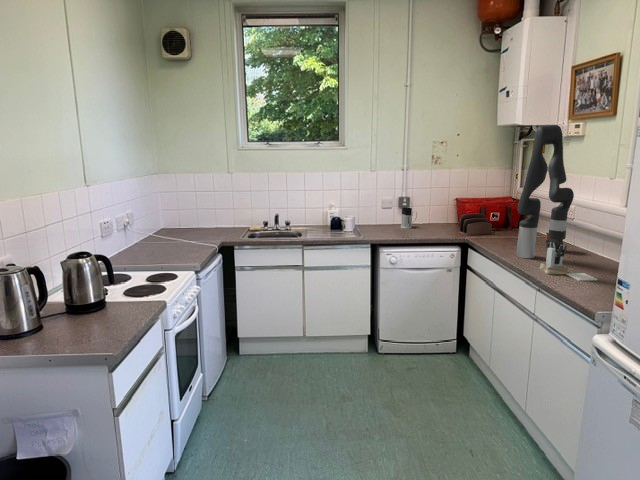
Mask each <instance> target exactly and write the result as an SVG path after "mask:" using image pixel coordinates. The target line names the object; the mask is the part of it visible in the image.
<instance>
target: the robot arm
mask: <svg viewBox="0 0 640 480" xmlns="http://www.w3.org/2000/svg"><path fill="white" fill-rule="evenodd" d="M563 144H564V138H563V131H562V127H561V126H560V125H557V124H554V125H553V124H552V125H550V124H549V125H541V126H538V128H537V129H536V130H535V134H534V141H533V147H532V153H531V157H530V161H529V164H528V168H527V172H526V177H525V180H524V185H523V189H522V192H521V195H520V197H519V200H518V204H517V212H518V214H519V215H523V216H524V215H525V216H527V215H530V216H529V217H527V218H526V219H522V220H520V221H519V227H518V238H517V244H516V254H515V255H516V257H517V258H521V259H534V258H535V256H536V246H537V237H538V234H537V233H538V227H539V226H538V224H539V220H540V214H541V213H540V212H541V199H539V198H537V197H531V196H532V194H533V193H534V192H535V191H536V190H537V189H538V188H539V187H540V186H541V185H542V184H543V183H544V182H545V180H546V177H547V173H548V177H549V191H548V198H549V200H550V201H551V202H552V203H555V204H556V203H557V204H558V203H559V205H558V206H555V207H553V208H552V209H551V212H550V221H549V225H548V231H549V234H548V237H549V238H550V240H547V239H546V240H545V244H546V248H545V249H547V248H554V250H555V256H556V257H555V262H554V264H559V263H560V257H562V256H563V257H564V256H565V253H566V250H567V245H565V244H564V240H566V237H567V227H568V214H569V213H568V212H569V210H570V208H571V205H572V203H573V202H574V201H573V200H574V199H575V198H574V197H575V193H574V191H573V189H572V188H570V187H561V186H560V185H562V184H564V183H565V182H567V175H566V169H565V164H564V145H563ZM546 145H547V146H548V145H552V146H553V154H552V156H551V158H550V160H549V163H547V160H546V159H545V157H544V153H543V149H544V146H546ZM549 244H550V245H549ZM556 249H559V250H556ZM557 252H558V254H557ZM561 252H562V254H561Z"/></svg>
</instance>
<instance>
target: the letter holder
mask: <svg viewBox="0 0 640 480" xmlns="http://www.w3.org/2000/svg"><path fill="white" fill-rule="evenodd" d="M485 216H486V215H485V214H484V213H481V212H480V213H479V212H478V213H477V212H475V213H472V212H471V213H465V214H461V215H460V218H459V219H460V220H459V231H458V232H459V234H462V235H465V236H476V235H477V236H478V235H479V236H481V235H491V234H492V227H493V226H492V223H491V222H489V219H488V218H485Z"/></svg>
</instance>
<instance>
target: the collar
mask: <svg viewBox="0 0 640 480" xmlns="http://www.w3.org/2000/svg"><path fill="white" fill-rule="evenodd" d="M568 268H569V267H568V266H566V265H564V264H562V267H549V266H547V265H546V262H545V263H544V262H543V263H540V264H539V271H541V272H542V273H544V274H547V275H566V274H567V273H568Z"/></svg>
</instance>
